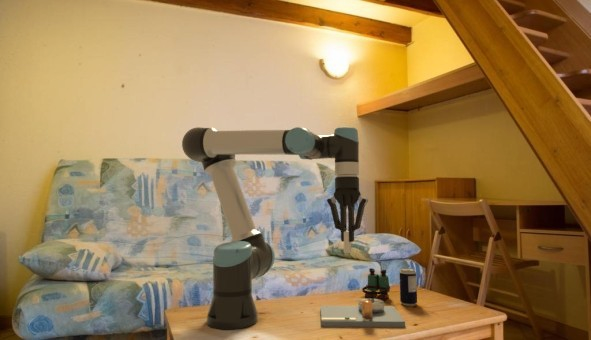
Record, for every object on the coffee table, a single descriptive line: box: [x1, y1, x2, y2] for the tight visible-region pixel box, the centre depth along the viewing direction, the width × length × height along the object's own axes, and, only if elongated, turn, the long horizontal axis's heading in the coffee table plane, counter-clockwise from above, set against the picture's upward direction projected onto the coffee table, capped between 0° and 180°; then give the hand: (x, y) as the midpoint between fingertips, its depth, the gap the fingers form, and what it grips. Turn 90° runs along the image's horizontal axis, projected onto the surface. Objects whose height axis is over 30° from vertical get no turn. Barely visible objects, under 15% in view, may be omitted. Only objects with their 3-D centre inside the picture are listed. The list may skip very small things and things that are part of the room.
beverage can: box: [399, 267, 418, 307], centre depth 134 cm, size 6×6×12 cm
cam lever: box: [357, 298, 385, 319], centre depth 118 cm, size 16×8×5 cm, turn 163°
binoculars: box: [361, 267, 391, 302], centre depth 142 cm, size 9×11×10 cm
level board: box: [319, 305, 406, 328], centre depth 119 cm, size 24×16×2 cm, turn 88°
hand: (347, 252), depth 119 cm, fingers closed
